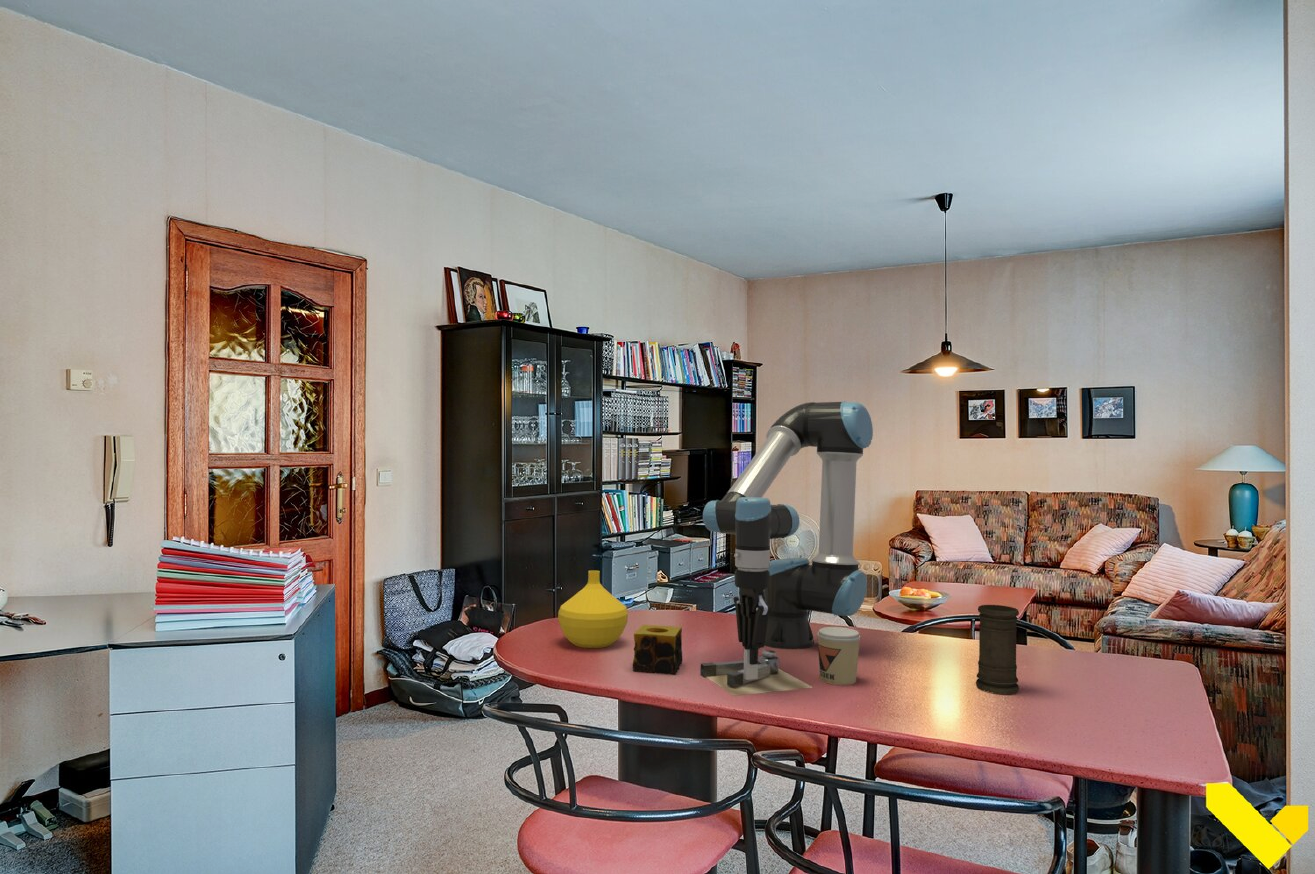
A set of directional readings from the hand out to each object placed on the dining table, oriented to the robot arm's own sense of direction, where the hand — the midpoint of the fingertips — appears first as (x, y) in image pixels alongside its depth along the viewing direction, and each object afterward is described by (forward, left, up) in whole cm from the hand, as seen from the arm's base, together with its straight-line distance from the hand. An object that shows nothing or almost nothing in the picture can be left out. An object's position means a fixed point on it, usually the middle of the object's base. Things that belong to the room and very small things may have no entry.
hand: (750, 678), depth 176 cm
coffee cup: (-21, +1, -3) cm, 21 cm away
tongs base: (-2, -9, -2) cm, 9 cm away
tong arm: (-3, -5, -1) cm, 6 cm away
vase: (+21, -50, -3) cm, 54 cm away
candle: (+14, -20, -3) cm, 24 cm away
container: (-54, +14, -3) cm, 56 cm away
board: (-3, -4, -3) cm, 6 cm away
